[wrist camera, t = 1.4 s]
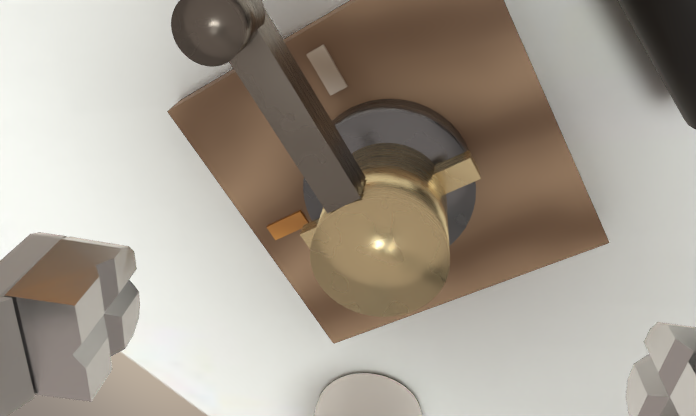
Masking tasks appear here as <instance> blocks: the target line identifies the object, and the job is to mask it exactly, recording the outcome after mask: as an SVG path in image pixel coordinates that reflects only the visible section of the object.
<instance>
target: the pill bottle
mask: <svg viewBox="0 0 696 416" xmlns="http://www.w3.org/2000/svg"><path fill="white" fill-rule="evenodd" d="M314 416H422V413H421V409H420V406H419V403H418V401H417V400H416V398H415V397H414V395H413V394H412V393H411V392H410V391H409V390H408V389H407V388H406V387H405V386H403V385H402V384H400V383H399V382H397V381H395V380H393V379H391V378H388V377H385V376H381V375H377V374H370V373H357V374H351V375H346V376H343V377H341V378H338V379H337V380H335V381H333V382H332V383H330V384H329V385H328V386H327V387H326V388H325V389H324V391H323V392H322V394H321V395H320V397H319V400H318V403H317V405H316V409H315V413H314Z"/></svg>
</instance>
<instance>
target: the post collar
mask: <svg viewBox="0 0 696 416" xmlns="http://www.w3.org/2000/svg"><path fill="white" fill-rule="evenodd" d="M332 122H333V124H334V125H335V127H336V129H337V130H338V132H339V134H340V135H341V137H342V139H343V140H344V142H345V144H346V145H347V147H348V149H349V150H350V152H351V154H352V153H353V152H355V151H357V150H358V149H361V148H363V147H365V146H369V145H372V144H378V143H395V144H401V145H405V146H408V147H411V148H413V149H415V150H417V151H419V152H421V153H422V154H424V155H425V156H426V157H428V158H429V159H430V160H431V161H432V162H433V163H434V165H437V164H439V163H441V162H443V161H445V160H448V159H450V158H452V157H454V156H456V155H459V154H461V153H463V152H465V151H467V150H469V149H468V147H467V144H466V142H465V141H464V139H463V137H462V136H461V134H460V133H459V132H458V130H457V129H456V128H455V127H454V126H453V125H452V124H451V123H450V122H449V121H448V120H447V119H446V118H445V117H443V116H442V115H440V114H439V113H438V112H436V111H434V110H432V109H430V108H428V107H427V106H424V105H421V104H418V103H416V102H411V101H407V100H400V99H379V100H373V101H368V102H365V103H361V104H359V105H356V106H354V107H352V108H349V109H348V110H346V111H344V112H343V113H341V114H340V115H339V116H337V117H336V118H335V119H334V120H332ZM303 193H304V201H305V204H306V208H307V211H308V213H309V216H310V218H311V220H312V221H313V220H315V219H318V218H320V215H321V212H322V209H323V206H322V204H321V203H320V201H319V200H318V198H317V197H316V195H315V194H314V192H313V190H312V189H311V187H310V186H309V184H308V183H307V181H306V180H305V178H304V179H303ZM446 195H447V213H448V232H449V246H450V245H451V244H452V243H453V242H454V241H455V240H456V239H457V238H458V237H459V236H460V235H461V233H462V232H463V231H464V229H465V228H466V226H467V224H468V222H469V220H470V218H471V215H472V213H473V210H474V205H475V200H476V183H475V182H472V183H470V184H468V185H465V186H463V187H461V188H458V189H456V190H454V191H452V192H449V193H447V194H446Z"/></svg>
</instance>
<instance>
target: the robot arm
mask: <svg viewBox="0 0 696 416" xmlns="http://www.w3.org/2000/svg"><path fill="white" fill-rule="evenodd" d="M136 269H137V268H136V261H135V254H134V251H133V250H132V249H131V248H130V247H129V246H124V245H118V244H112V243H106V242H100V241H94V240H87V239H81V238H75V237H66V236H62V235H55V234H48V233H41V232H38V233H33V234H30V235H29V236H27V237H26V238H25V239H24V240H23V241H22V242H21V243H20V244H18V245H17V246H16V247H15V248H14V249H13V250H12V251H11V252H10V253H8V254H7V255H6V256H5V257H4V258H3V259H2V260H1V261H0V416H8V415H10V414H11V413H13V412H14V411H16V410H17V409H19V408H20V407H22V406H23V405H25V404H26V403H28V402H29V401H31V400H33V399H34V398H35V395H42V396H51V397H59V398H66V399H74V400H82V401H90V402H91V401H92V400H93V398H94V397H95V395H96V394H97V392H98V391H99V389H100V387H101V386H102V384H103V383H104V381H105V380H106V378H107V376H108V375H109V373H110V372H111V370H112V364H111V356H113V355H114V354H116V353H118V352H120V351H122V350H124V349H125V348H126V347H127V345H128V343H129V342H130V340H131V338H132V337H133V334H134V331H135V328H136V325H137V322H138V319H139V309H140V298H139V291H138V290H137V289H136V287H135V286H134V285H133V284H132V283H131V281H130V280H129V279H130V278H131V276H132V275H133V273H134V272H135V271H136ZM644 344H645V346H646V348H647V351H648V353H649V355H647V356H645V357H644V358H642V359H641V360H639V361H637V362H636V363H634V365H633V367H632V370H631V372H630V375H629V377H628V380H627V390H626V402H627V408H628V413H629V415H630V416H696V327H691V326H683V325H676V324H669V323H661V322H657V323H656V324H655V325H654V326H653V327H652V328H651V329H650V330H649V332H648V334H647V336H646V338H645V340H644Z"/></svg>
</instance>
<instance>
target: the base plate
mask: <svg viewBox="0 0 696 416" xmlns="http://www.w3.org/2000/svg"><path fill="white" fill-rule="evenodd" d="M284 42H285V44H286V45H287V47H288V49H289V50H290V52H291V54H292V55H293V57H294V59H295V60H296V62H297V64H298V65H299V67H300V69H301V70H302V72H303V74H304V75H305V77H306V79H307V80H308V82H309V84H310V85H311V87H312V89H313V90H314V92H315V94H316V95H317V97H318V99H319V100H320V102H321V104H322V105H323V107H324V109H325V110H326V112H327V114H328V115H329V117H330V119H331V120H334V119H335V118H336V117H337V116H339V115H340V114H341V113H343V112H344V111H346V110H348V109H349V108H352V107H354V106H356V105H359V104H361V103H365V102H368V101H373V100H379V99H400V100H407V101H411V102H416V103H418V104H421V105H424V106H427V107H428V108H430V109H432V110H434V111H436V112H438V113H439V114H440V115H442V116H443V117H445V118H446V119H447V120H448V121H449V122H450V123H451V124H452V125H453V126H454V127H455V128H456V129H457V130H458V132H459V133H460V134H461V136H462V137H463V139H464V141H465V142H466V144H467V147H468V149H469V150H470V152H471V154H472V156H473V158H474V160H475V162H476V164H477V166H478V168H479V170H480V176H481V179H479V180H477V181H475V183H476V200H475V205H474V210H473V213H472V215H471V218H470V220H469V222H468V224H467V226H466V228H465V229H464V231H463V232H462V233H461V235H460V236H459V237H458V238H457V239H456V240H455V241H454V242H453V243H452V244H451V245H450V246H449V250H450V268H449V273H448V276H447V279H446V282H445V284H444V285H443V287H442V289H441V290H440V292H439V293H438V294H437V295H436V296H435V297H434V298H433V299H432V300H431V301H430V302H428V303H427V304H426V305H424V306H423V307H421V308H419V309H417V310H415V311H412V312H410V313H406V314H403V315H398V316H390V317H377V316H369V315H365V314H360V313H357V312H355V311H352V310H350V309H348V308H345V307H344V306H342V305H340V304H339V303H337V302H336V301H335V300H333V299H332V298H331V297H330V296H329V295H328V294H327V293H326V292H325V291H324V290H323V289H322V288H321V286H320V285H319V283H318V282H317V280H316V278H315V276H314V273H313V271H312V267H311V262H310V249H309V247H308V246H307V244H306V243H305V241H304V240H303V238H302V237H301V236H300V233H301V230H302V227H303V225H304V224H307V223H309V222H311V221H312V220H311V218H310V216H309V213H308V211H307V208H306V204H305V201H304V193H303V179H304V177H303V175H302V173H301V172H300V170H299V169H298V167H297V166H296V164H295V163H294V161H293V160H292V158H291V156H290V155H289V153H288V152H287V150H286V149H285V147H284V146H283V144H282V143H281V141H280V140H279V138H278V136H277V135H276V133H275V132H274V130H273V129H272V127H271V126H270V124H269V123H268V121H267V119H266V118H265V116H264V115H263V113H262V112H261V110H260V109H259V107H258V106H257V104H256V102H255V101H254V99H253V98H252V96H251V95H250V93H249V92H248V90H247V89H246V87H245V86H244V84H243V82H242V81H241V79H240V78H239V76H238V75H237V73H236V72H235V70H234V69H233V70H231V71H229V72H227V73H226V74H224V75H222V76H221V77H219V78H217V79H216V80H214V81H212V82H210V83H209V84H207V85H205V86H204V87H202V88H200V89H199V90H197V91H195V92H193V93H192V94H190V95H188V96H187V97H185V98H183V99H181V100H180V101H179V102H178V103H177V104H175V105H174V106H173V107H172V108H171V109H170V110H168V111H167V112H168V113H169V115H170V116H171V117H172V119H173V120H174V122H175V123H176V124H177V126H178V127H179V128H180V130H181V131H182V133H183V134H184V135H185V137H186V138H187V140H188V141H189V142H190V144H191V145H192V147H193V148H194V149H195V151H196V152H197V154H198V155H199V156H200V158H201V159H202V161H203V162H204V163H205V165H206V166H207V168H208V169H209V170H210V172H211V173H212V175H213V176H214V177H215V179H216V180H217V182H218V183H219V184H220V186H221V187H222V188H223V190H224V191H225V193H226V194H227V195H228V197H229V198H230V200H231V201H232V202H233V204H234V205H235V207H236V208H237V209H238V211H239V212H240V214H241V215H242V216H243V218H244V219H245V221H246V222H247V223H248V225H249V226H250V228H251V229H252V230H253V232H254V233H255V235H256V236H257V237H258V239H259V240H260V242H261V243H262V244H263V246H264V247H265V248H266V250H267V251H268V253H269V254H270V255H271V257H272V258H273V260H274V261H275V262H276V264H277V265H278V267H279V268H280V269H281V271H282V272H283V274H284V275H285V276H286V278H287V279H288V281H289V282H290V283H291V285H292V286H293V288H294V289H295V290H296V292H297V293H298V295H299V296H300V297H301V299H302V300H303V302H304V303H305V304H306V306H307V307H308V309H309V310H310V311H311V313H312V314H313V315H314V317H315V318H316V320H317V321H318V322H319V324H320V325H321V327H322V328H323V329H324V331H325V332H326V334H327V335H328V336H329V338H330V339H331V341H332V342H333V343H337V342H340V341H342V340H345V339H348V338H351V337H353V336H356V335H359V334H361V333H364V332H367V331H370V330H372V329H375V328H378V327H381V326H383V325H386V324H389V323H392V322H394V321H397V320H400V319H402V318H405V317H408V316H411V315H413V314H416V313H419V312H422V311H424V310H427V309H430V308H433V307H435V306H438V305H441V304H443V303H446V302H449V301H452V300H454V299H457V298H460V297H463V296H465V295H468V294H471V293H474V292H476V291H479V290H482V289H484V288H487V287H490V286H493V285H495V284H498V283H501V282H504V281H506V280H509V279H512V278H514V277H517V276H520V275H523V274H525V273H528V272H531V271H534V270H536V269H539V268H542V267H545V266H547V265H550V264H553V263H555V262H558V261H561V260H564V259H566V258H569V257H572V256H575V255H577V254H580V253H583V252H586V251H588V250H591V249H594V248H596V247H599V246H602V245H605V244H607V243H609V241H608V238H607V236H606V234H605V231H604V229H603V227H602V225H601V222H600V220H599V218H598V215H597V213H596V211H595V209H594V206H593V204H592V202H591V199H590V197H589V195H588V193H587V190H586V188H585V186H584V183H583V181H582V179H581V177H580V174H579V172H578V170H577V167H576V165H575V163H574V160H573V158H572V156H571V154H570V151H569V149H568V147H567V144H566V142H565V140H564V138H563V135H562V133H561V131H560V128H559V126H558V124H557V122H556V119H555V117H554V115H553V112H552V110H551V108H550V105H549V103H548V101H547V99H546V96H545V94H544V92H543V89H542V87H541V85H540V83H539V80H538V78H537V76H536V73H535V71H534V69H533V67H532V64H531V62H530V60H529V57H528V55H527V53H526V51H525V48H524V46H523V44H522V41H521V39H520V37H519V34H518V32H517V30H516V28H515V25H514V23H513V21H512V18H511V16H510V14H509V12H508V9H507V7H506V5H505V2H504V0H350V1H348V2H347V3H345V4H343V5H342V6H340V7H338V8H336V9H335V10H333V11H331V12H330V13H328V14H326V15H325V16H323V17H321V18H319V19H318V20H316V21H314V22H313V23H311V24H309V25H308V26H306V27H304V28H302V29H301V30H299V31H297V32H296V33H294V34H292V35H290V36H289V37H287V38H285V39H284Z"/></svg>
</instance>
